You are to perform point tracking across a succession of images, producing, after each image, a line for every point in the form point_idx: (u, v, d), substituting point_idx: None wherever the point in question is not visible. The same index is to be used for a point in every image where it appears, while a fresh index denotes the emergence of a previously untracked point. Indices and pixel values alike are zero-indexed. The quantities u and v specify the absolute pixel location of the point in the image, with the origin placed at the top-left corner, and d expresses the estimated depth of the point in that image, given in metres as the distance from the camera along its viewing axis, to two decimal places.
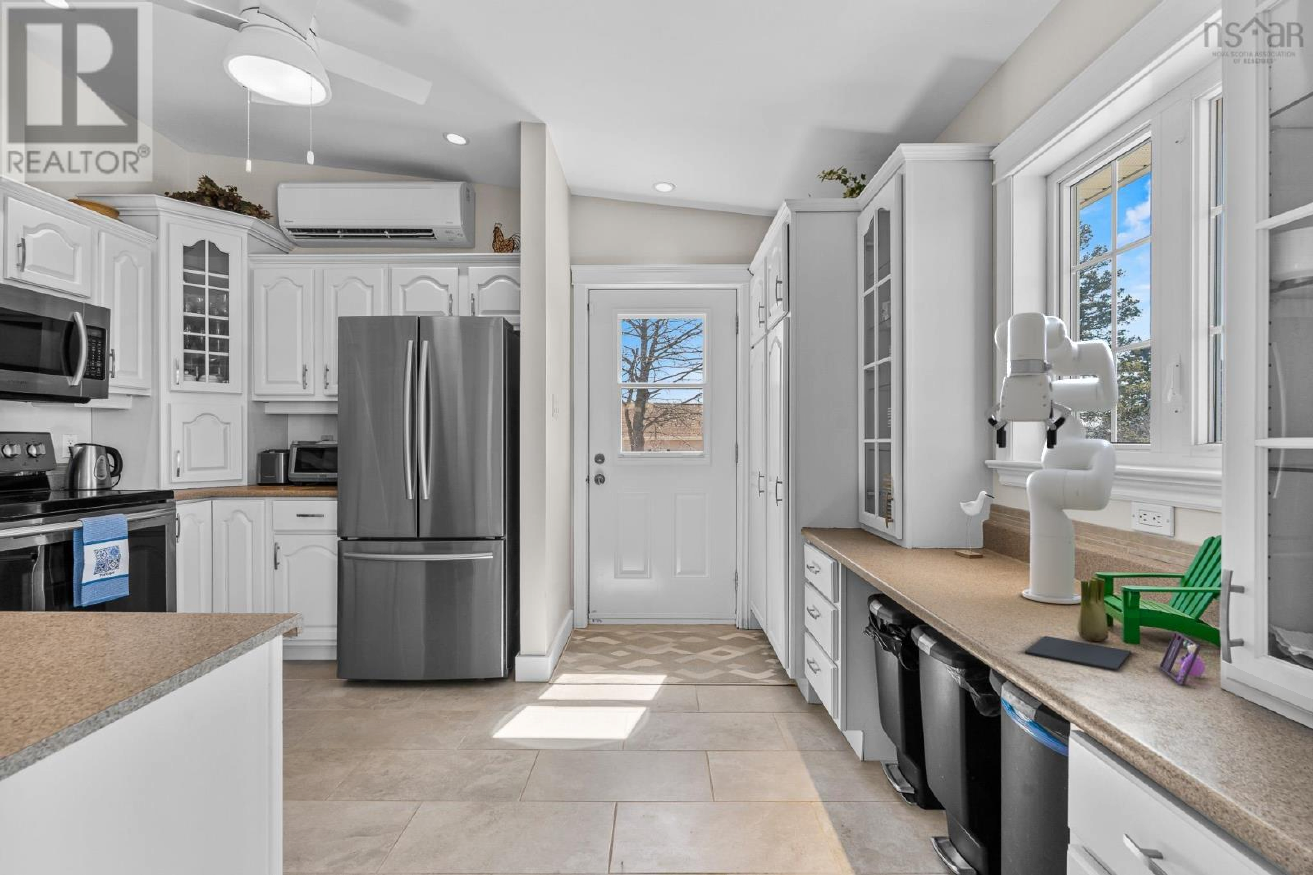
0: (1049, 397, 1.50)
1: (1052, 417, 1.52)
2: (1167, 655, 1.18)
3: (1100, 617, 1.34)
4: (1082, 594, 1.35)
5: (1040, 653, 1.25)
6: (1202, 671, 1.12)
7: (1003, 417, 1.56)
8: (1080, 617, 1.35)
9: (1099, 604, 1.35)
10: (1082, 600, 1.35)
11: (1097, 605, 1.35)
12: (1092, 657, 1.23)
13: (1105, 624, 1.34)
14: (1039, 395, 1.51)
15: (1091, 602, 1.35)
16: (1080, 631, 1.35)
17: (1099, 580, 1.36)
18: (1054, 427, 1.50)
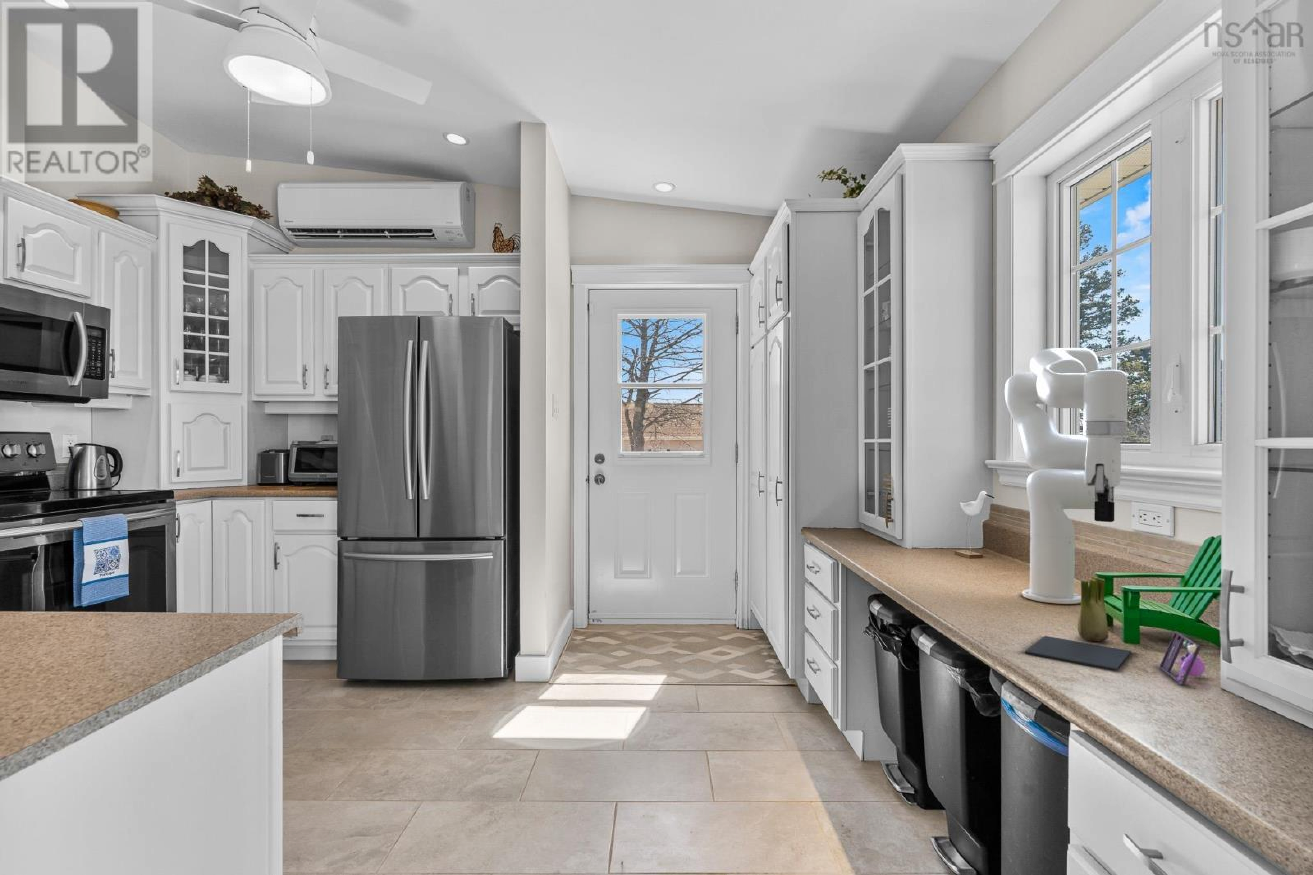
0: None
1: None
2: (1167, 655, 1.18)
3: (1100, 617, 1.34)
4: (1082, 594, 1.35)
5: (1040, 653, 1.25)
6: (1202, 671, 1.12)
7: (1112, 483, 1.39)
8: (1080, 617, 1.35)
9: (1099, 604, 1.35)
10: (1082, 600, 1.35)
11: (1097, 605, 1.35)
12: (1092, 657, 1.23)
13: (1105, 624, 1.34)
14: None
15: (1091, 602, 1.35)
16: (1080, 631, 1.35)
17: (1099, 580, 1.36)
18: (1112, 499, 1.44)
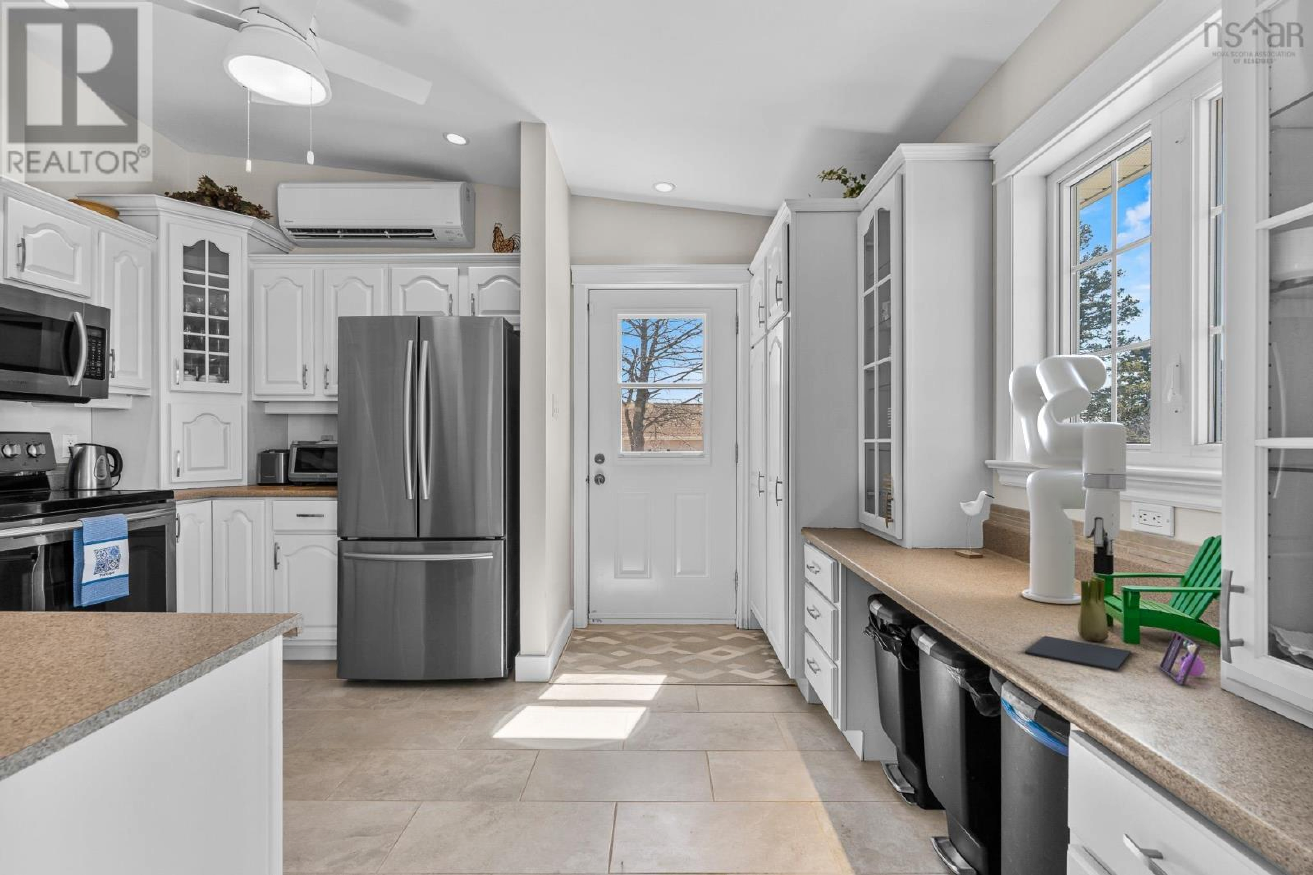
0: None
1: None
2: (1167, 655, 1.18)
3: (1100, 617, 1.34)
4: (1082, 594, 1.35)
5: (1040, 653, 1.25)
6: (1202, 671, 1.12)
7: (1111, 537, 1.39)
8: (1080, 617, 1.35)
9: (1099, 604, 1.35)
10: (1082, 600, 1.35)
11: (1097, 605, 1.35)
12: (1092, 657, 1.23)
13: (1105, 624, 1.34)
14: None
15: (1091, 602, 1.35)
16: (1080, 631, 1.35)
17: (1099, 580, 1.36)
18: (1111, 551, 1.43)
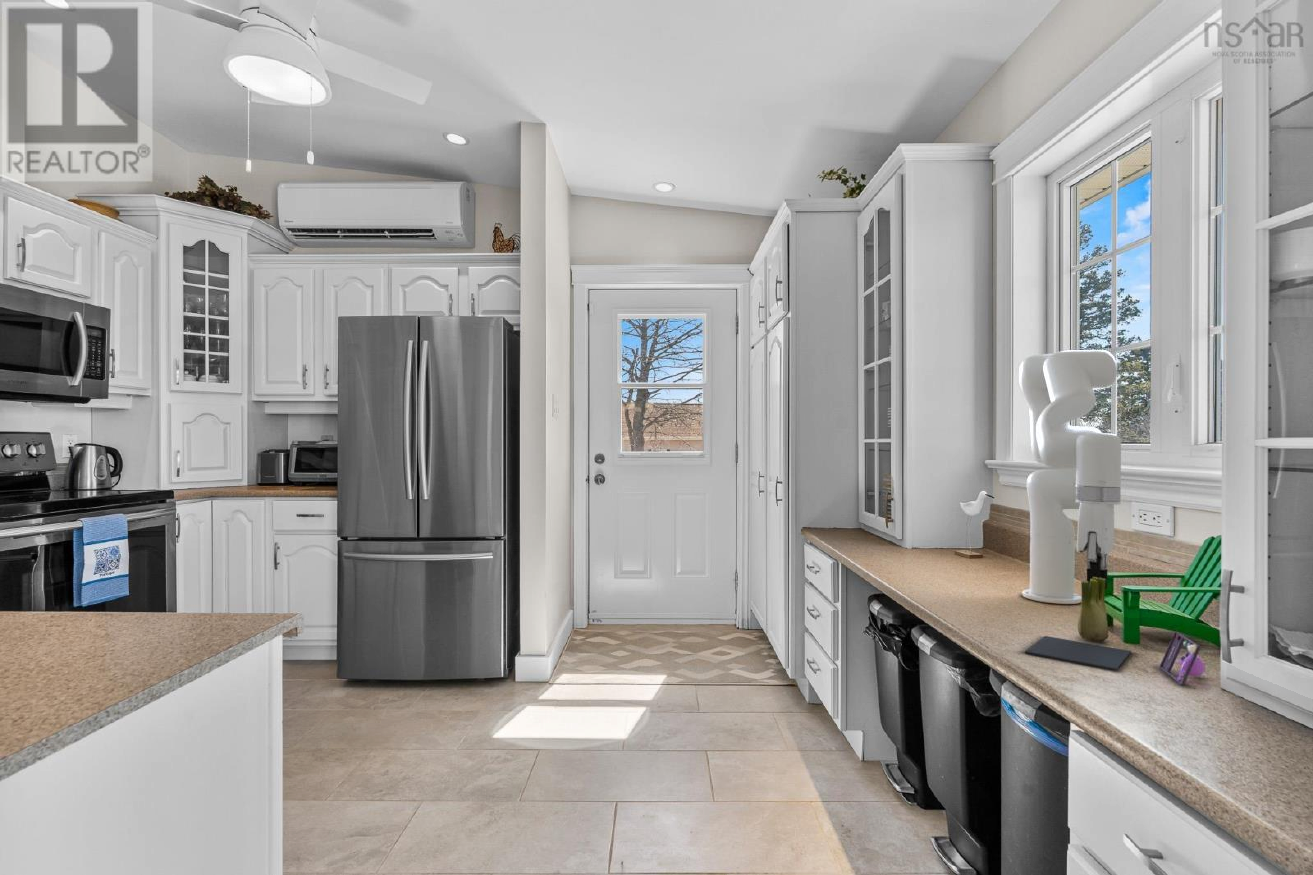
0: None
1: None
2: (1167, 655, 1.18)
3: (1101, 617, 1.34)
4: (1082, 595, 1.34)
5: (1040, 653, 1.25)
6: (1202, 671, 1.12)
7: (1105, 551, 1.34)
8: (1080, 618, 1.35)
9: (1099, 604, 1.35)
10: (1082, 601, 1.34)
11: (1097, 605, 1.35)
12: (1092, 657, 1.23)
13: (1105, 624, 1.34)
14: None
15: (1092, 602, 1.34)
16: (1080, 631, 1.35)
17: (1100, 580, 1.36)
18: (1105, 566, 1.39)
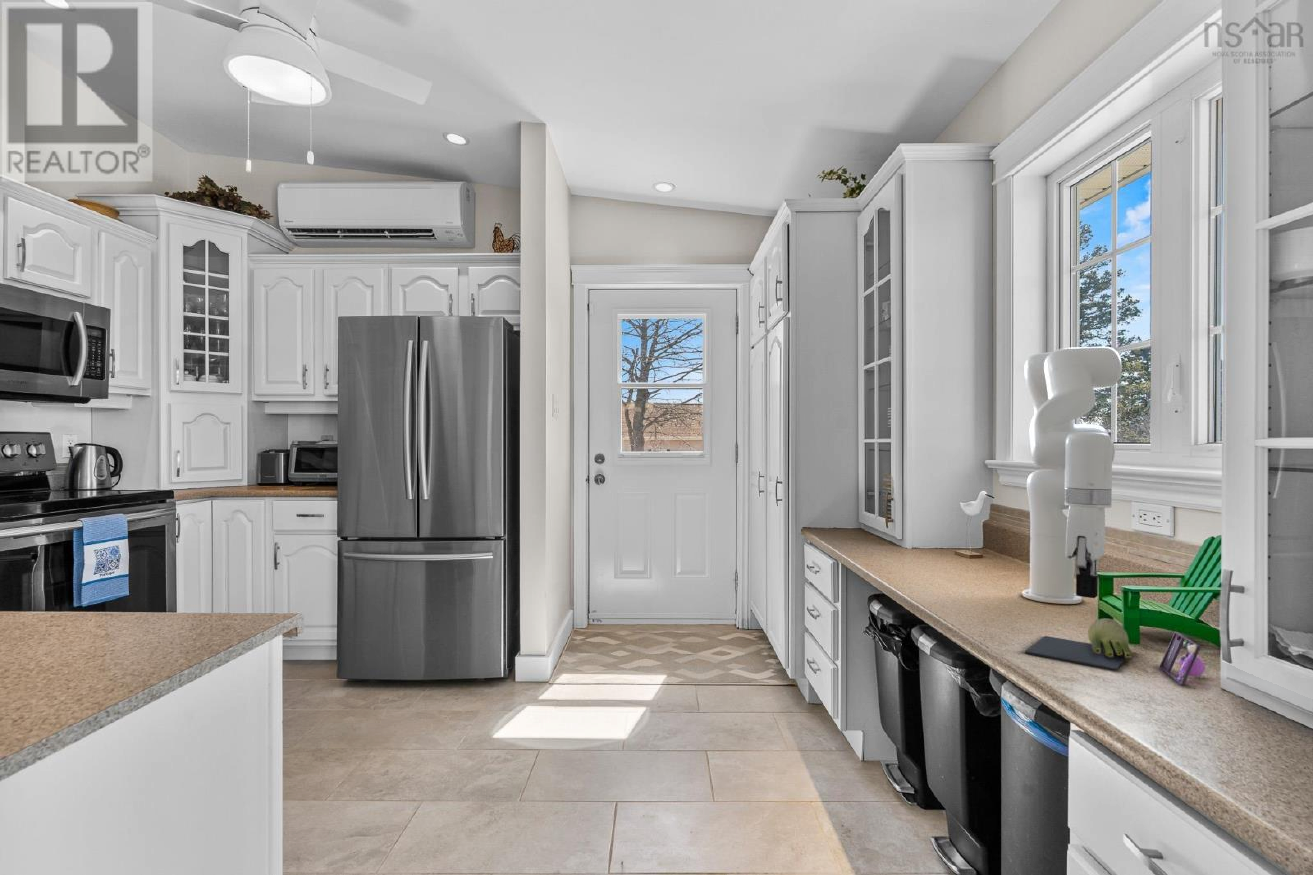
0: None
1: None
2: (1167, 655, 1.18)
3: None
4: (1092, 645, 1.26)
5: (1040, 653, 1.25)
6: (1202, 671, 1.12)
7: (1095, 557, 1.28)
8: (1088, 634, 1.30)
9: None
10: (1091, 642, 1.27)
11: None
12: (1092, 657, 1.23)
13: None
14: None
15: (1101, 646, 1.27)
16: (1089, 627, 1.33)
17: (1124, 654, 1.22)
18: (1096, 572, 1.32)
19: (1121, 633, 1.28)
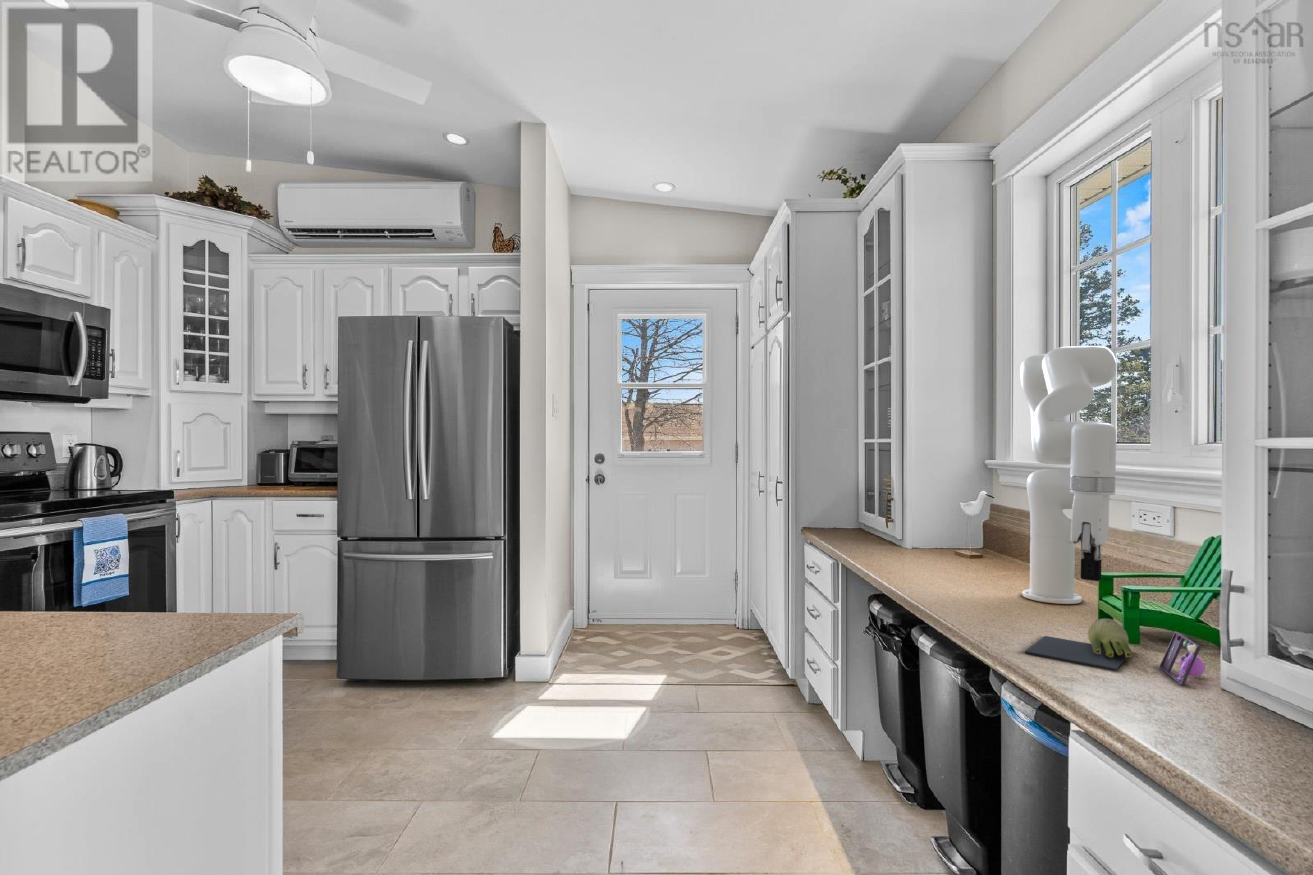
0: None
1: None
2: (1167, 655, 1.18)
3: None
4: (1092, 646, 1.26)
5: (1040, 653, 1.25)
6: (1202, 671, 1.12)
7: (1099, 542, 1.34)
8: (1088, 635, 1.30)
9: None
10: (1091, 643, 1.27)
11: None
12: (1092, 657, 1.23)
13: None
14: (1108, 515, 1.39)
15: (1102, 647, 1.27)
16: (1089, 628, 1.33)
17: (1124, 654, 1.22)
18: (1099, 556, 1.38)
19: (1120, 633, 1.28)
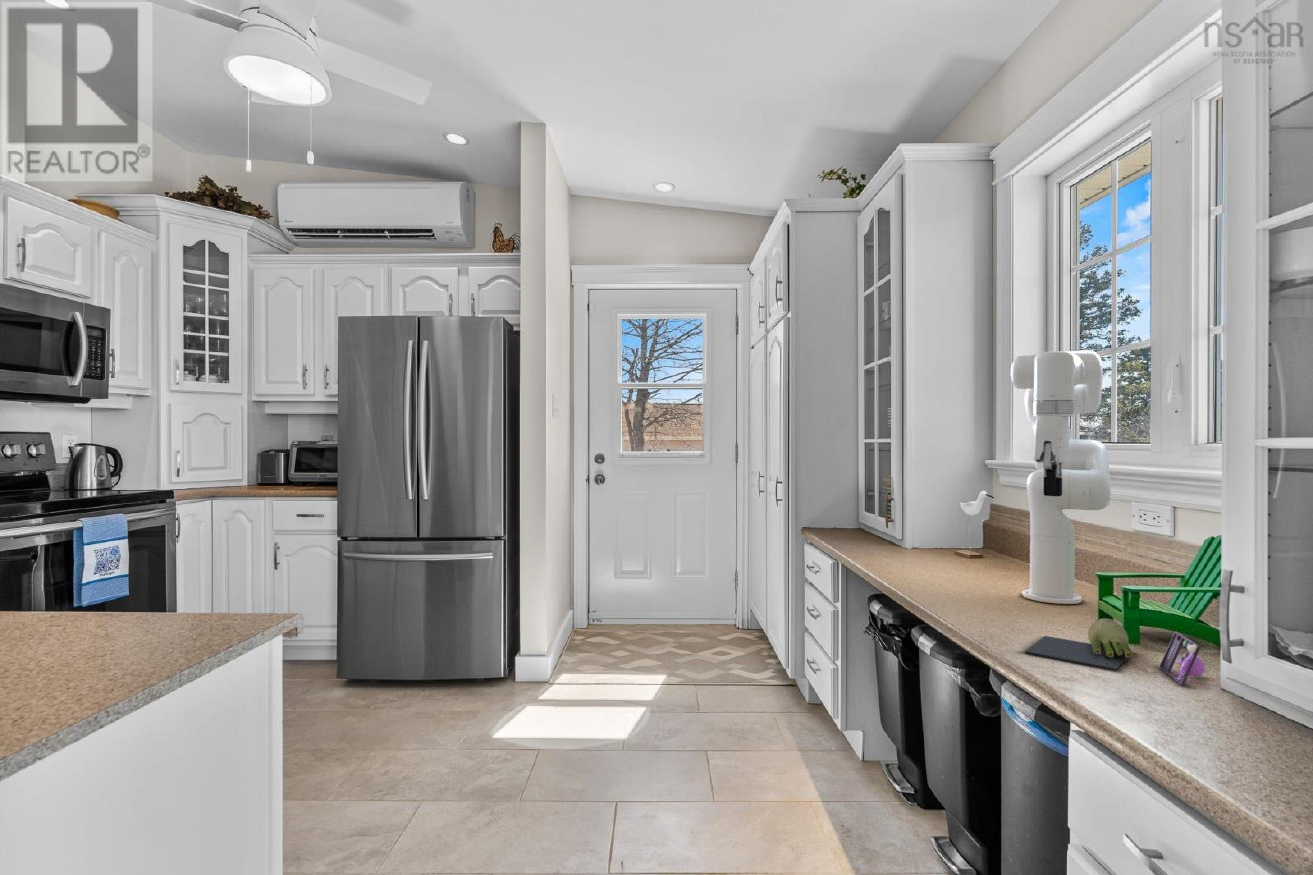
0: None
1: None
2: (1167, 655, 1.18)
3: None
4: (1092, 646, 1.26)
5: (1040, 653, 1.25)
6: (1202, 671, 1.12)
7: (1059, 459, 1.46)
8: (1088, 635, 1.30)
9: None
10: (1091, 643, 1.27)
11: None
12: (1092, 657, 1.23)
13: None
14: (1068, 437, 1.51)
15: (1102, 647, 1.27)
16: (1089, 628, 1.33)
17: (1124, 654, 1.22)
18: (1060, 474, 1.51)
19: (1120, 633, 1.28)
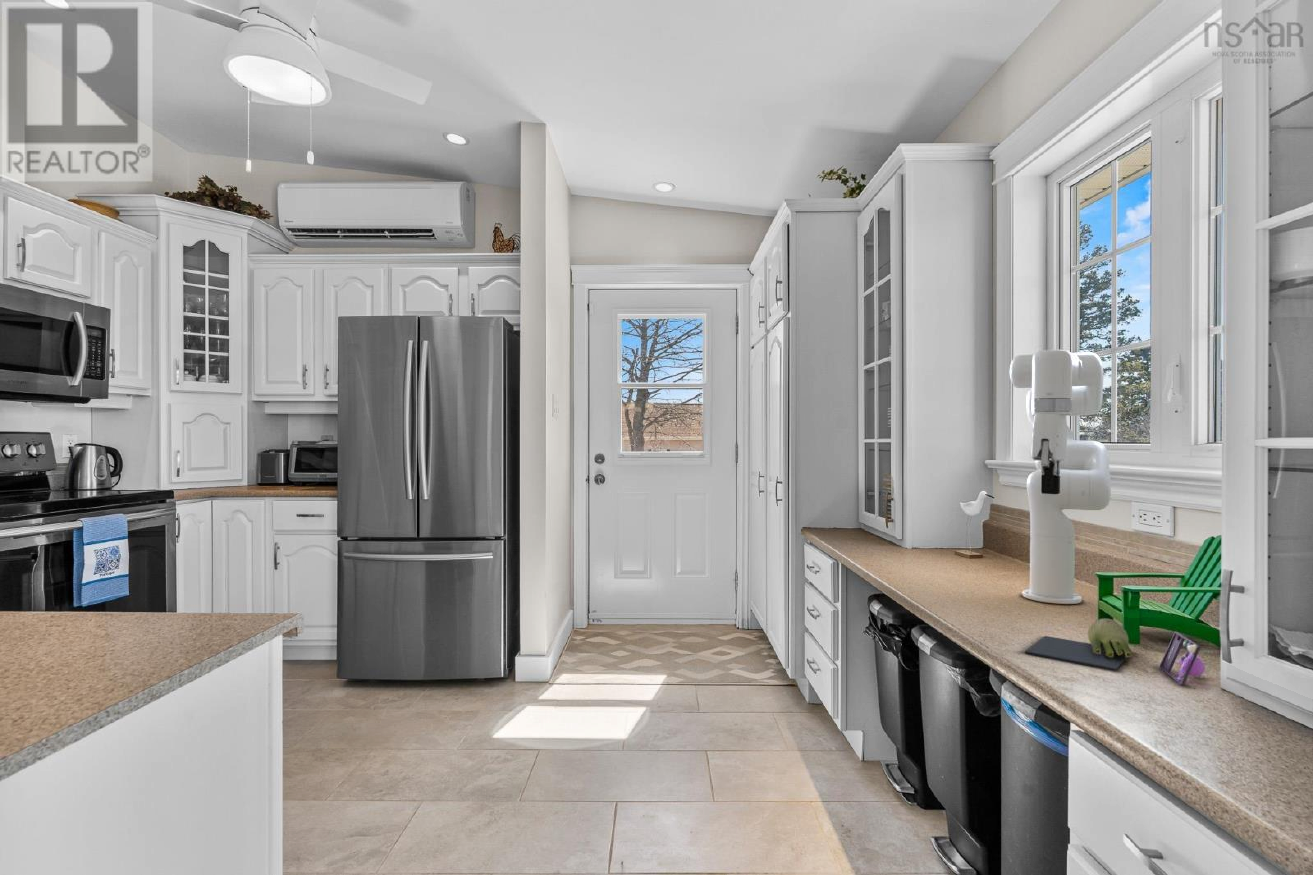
0: None
1: None
2: (1167, 655, 1.18)
3: None
4: (1092, 646, 1.26)
5: (1040, 653, 1.25)
6: (1202, 671, 1.12)
7: (1056, 457, 1.47)
8: (1088, 635, 1.30)
9: None
10: (1091, 643, 1.27)
11: None
12: (1092, 657, 1.23)
13: None
14: (1066, 435, 1.52)
15: (1102, 647, 1.27)
16: (1089, 628, 1.33)
17: (1124, 654, 1.22)
18: None
19: (1120, 633, 1.28)
